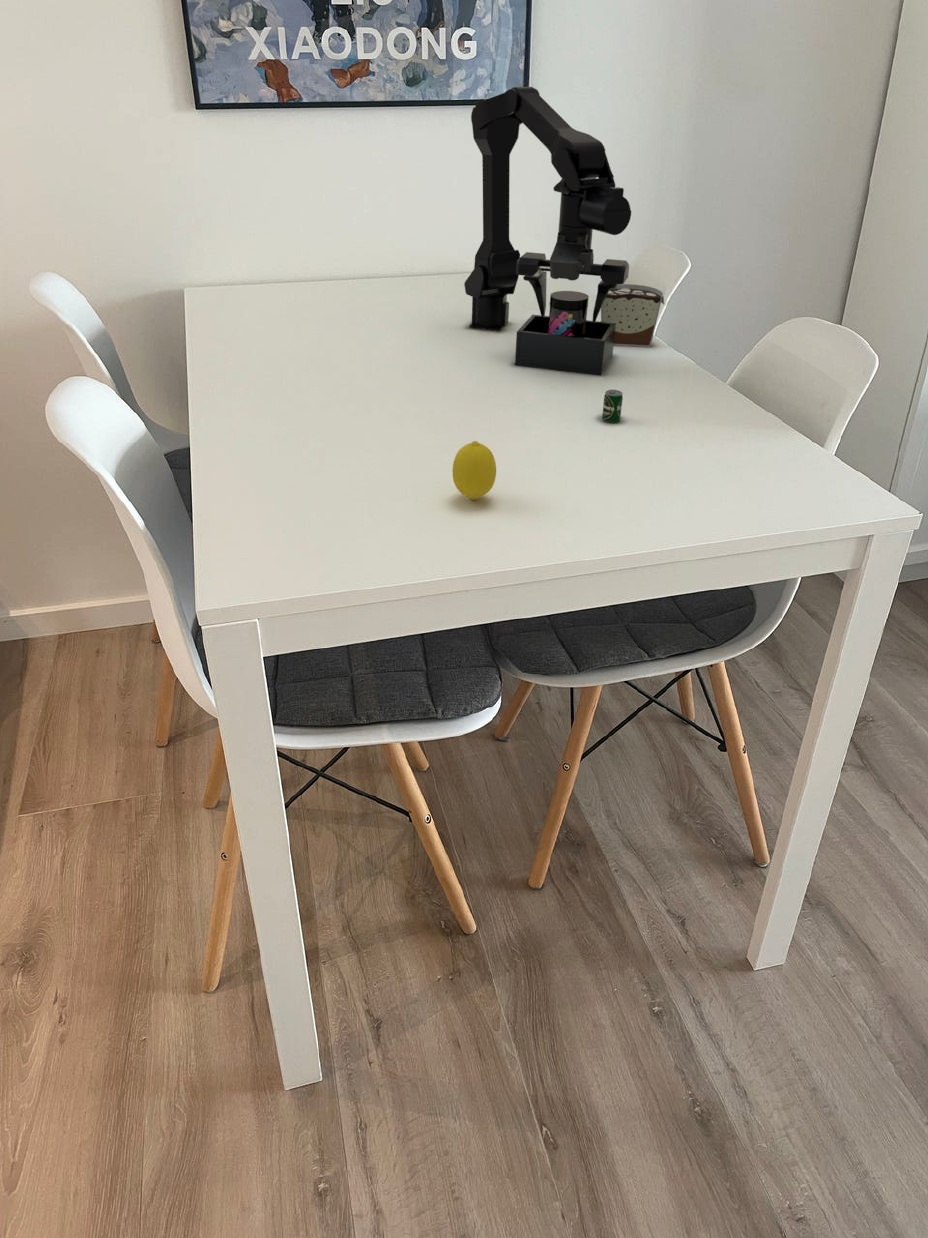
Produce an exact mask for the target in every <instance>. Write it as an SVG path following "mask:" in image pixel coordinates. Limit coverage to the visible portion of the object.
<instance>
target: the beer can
mask: <svg viewBox="0 0 928 1238" xmlns="http://www.w3.org/2000/svg"><path fill="white" fill-rule="evenodd" d="M623 398H624V397H623V392H622V391H621V390H617V389H607V390H606V391H605V392H604V397H603V405H602V412H601V413H602V414H601V419H602V420H603V422H605V423H610V424H615V423H618V422H619V421H621V415H622V407H623V400H624V399H623Z"/></svg>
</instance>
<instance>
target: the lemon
mask: <svg viewBox="0 0 928 1238" xmlns="http://www.w3.org/2000/svg"><path fill="white" fill-rule="evenodd" d="M496 477H497V465H496V460H495V456H494V453H493V452H492V451H491V449H490V448H489V447H487V446H486V445H485V444H483V443H480V442H478V441H477V440H473V441H472V442H470V443H466V444H465V445H463V446H462V447H461V448H459V450H458V451H457V452H456V454H455V457H454V460H453V463H452V480H453V483H454V486H455V488H456V489H457V491H458V492H459V493H460V494H462V495H463V496H465V497H468V498H469V499H470V500H471V501H476V500H478V499H479V498H481V497H483V496H486V495H487V494H488V493H489V492H490V491H491V489H493V487H494V484H495V481H496Z"/></svg>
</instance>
